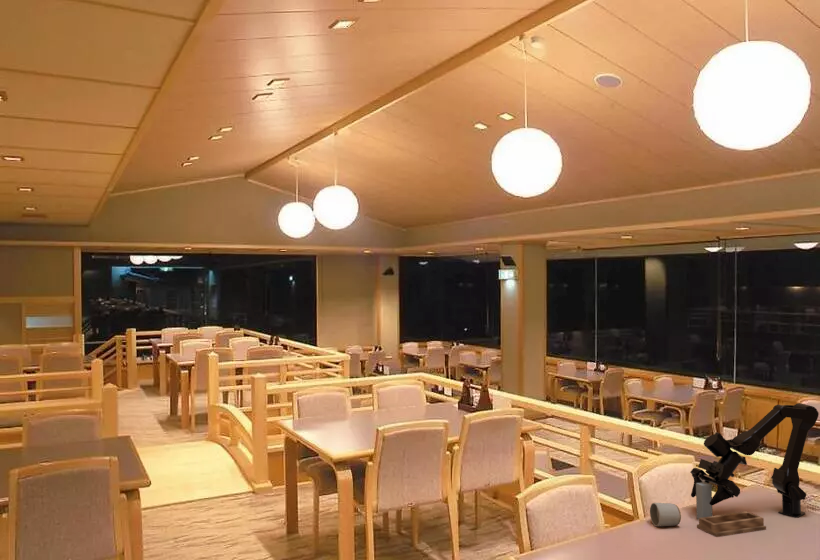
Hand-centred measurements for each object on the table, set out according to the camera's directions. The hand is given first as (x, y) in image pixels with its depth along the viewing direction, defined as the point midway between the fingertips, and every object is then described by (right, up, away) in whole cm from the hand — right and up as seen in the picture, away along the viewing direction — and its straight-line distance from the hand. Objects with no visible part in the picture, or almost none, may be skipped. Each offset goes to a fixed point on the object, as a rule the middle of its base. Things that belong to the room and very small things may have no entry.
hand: (701, 500), depth 228 cm
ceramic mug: (-14, -7, -3) cm, 16 cm away
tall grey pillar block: (+1, -7, 0) cm, 7 cm away
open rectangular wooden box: (+6, -7, -8) cm, 13 cm away
